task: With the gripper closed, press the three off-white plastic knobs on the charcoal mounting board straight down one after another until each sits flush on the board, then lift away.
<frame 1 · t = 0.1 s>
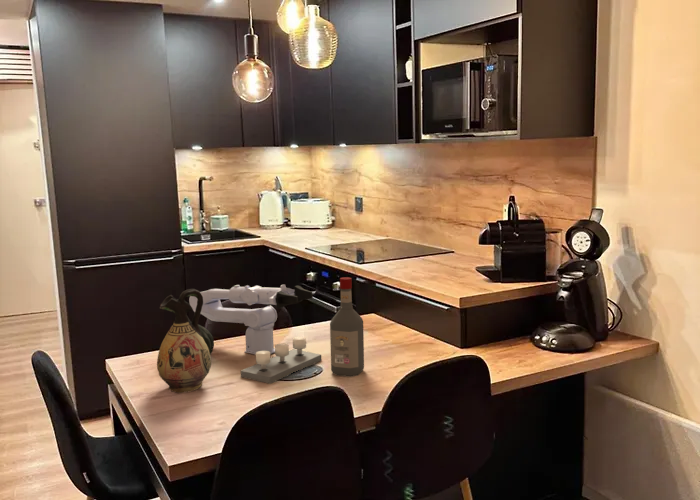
hand: (304, 297, 214), 22 cm above the table, tool horizontal, fingers open, 7 cm apart
ceramic jug: (188, 388, 194), on the table
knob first: (299, 345, 217), point 5 cm above the table, slide at 2.5 cm
knob middle: (281, 353, 209), point 5 cm above the table, slide at 2.5 cm
liquor: (347, 372, 206), on the table
mount board: (282, 368, 210), on the table
squash: (192, 362, 219), on the table
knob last: (263, 360, 202), point 5 cm above the table, slide at 2.5 cm
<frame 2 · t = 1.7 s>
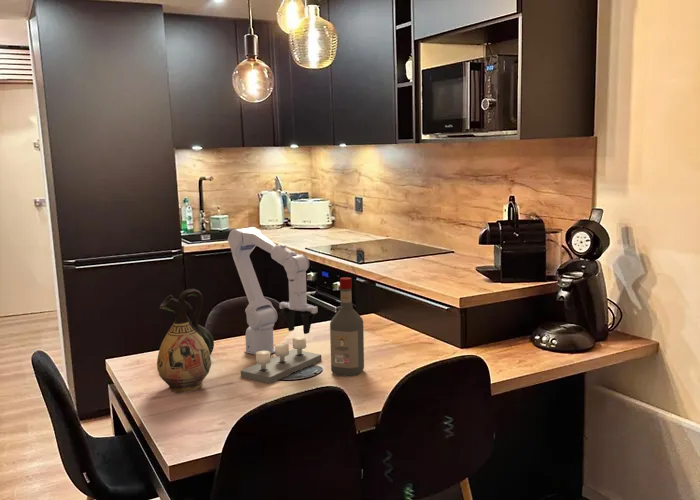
hand: (298, 331, 216), 10 cm above the table, tool pointing down, fingers open, 6 cm apart
nothing on the table moved.
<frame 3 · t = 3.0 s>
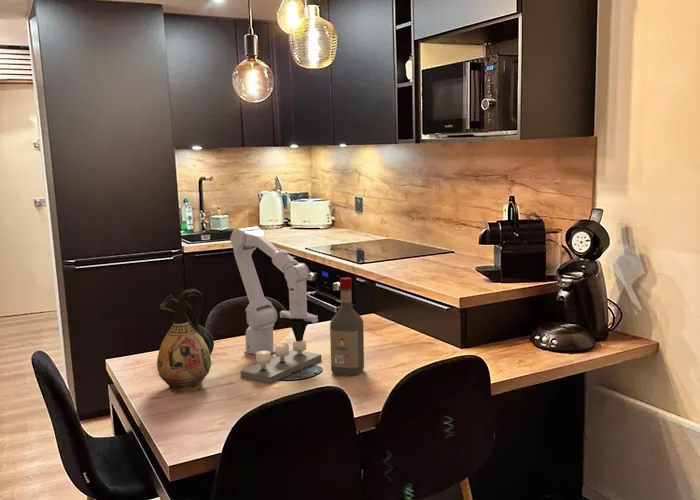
hand: (299, 340, 216), 7 cm above the table, tool pointing down, fingers closed, pressing on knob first
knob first: (299, 347, 217), point 4 cm above the table, slide at 1.8 cm, touching gripper
everything else where it was.
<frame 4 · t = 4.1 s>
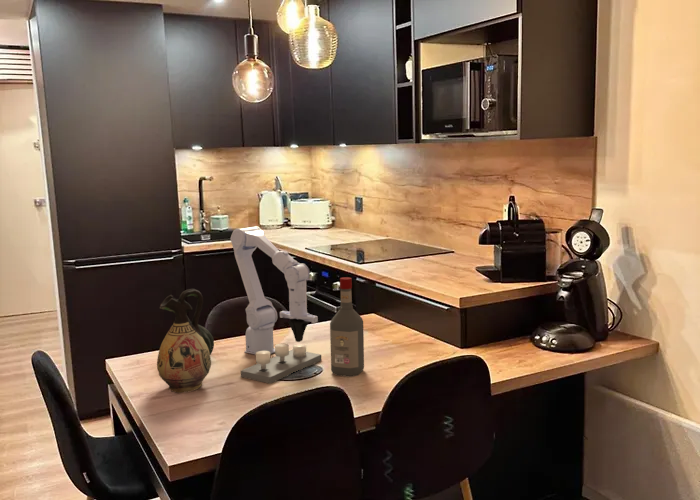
hand: (299, 341, 217), 7 cm above the table, tool pointing down, fingers closed
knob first: (299, 353, 217), point 3 cm above the table, slide at -0.1 cm
everything else where it was.
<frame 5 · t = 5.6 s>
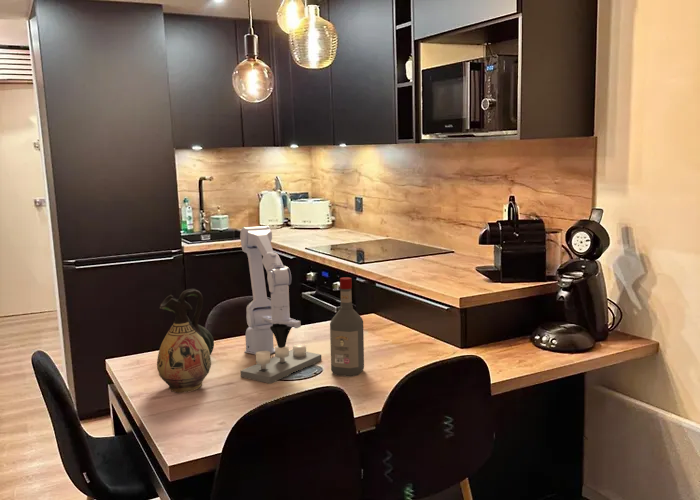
hand: (281, 346, 209), 7 cm above the table, tool pointing down, fingers closed, pressing on knob middle
knob middle: (282, 354, 209), point 5 cm above the table, slide at 2.1 cm, touching gripper
everything else where it was.
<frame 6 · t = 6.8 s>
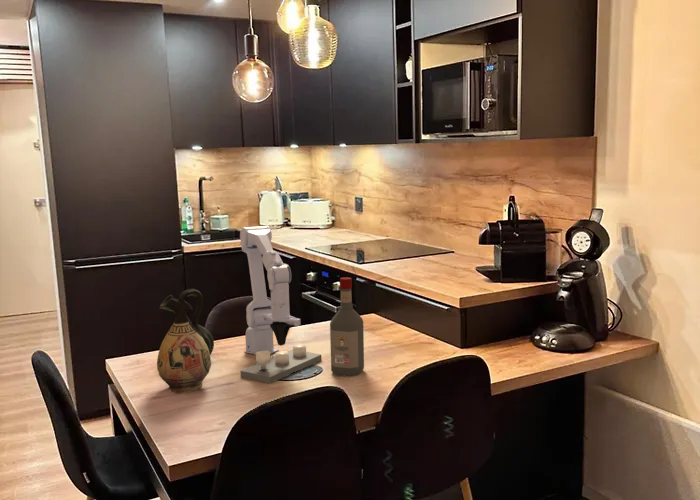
hand: (281, 344, 209), 8 cm above the table, tool pointing down, fingers closed
knob middle: (282, 360, 210), point 3 cm above the table, slide at -0.1 cm
everything else where it was.
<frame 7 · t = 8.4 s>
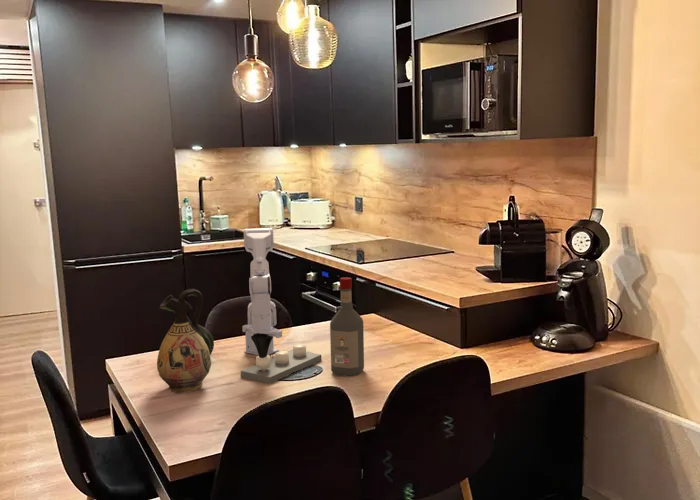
hand: (263, 357, 202), 6 cm above the table, tool pointing down, fingers closed, pressing on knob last
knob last: (263, 364, 202), point 4 cm above the table, slide at 1.2 cm, touching gripper
everything else where it was.
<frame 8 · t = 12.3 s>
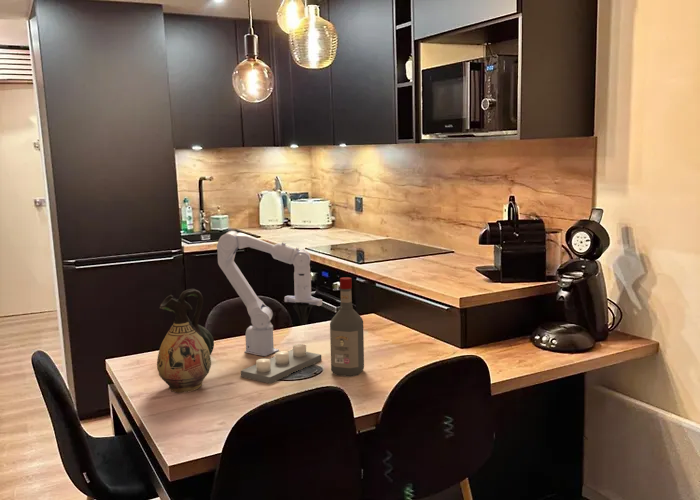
hand: (303, 323, 226), 10 cm above the table, tool pointing down, fingers closed
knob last: (263, 368, 202), point 3 cm above the table, slide at -0.1 cm
everything else where it was.
at the end: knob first slide at -0.1 cm; knob middle slide at -0.1 cm; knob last slide at -0.1 cm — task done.
